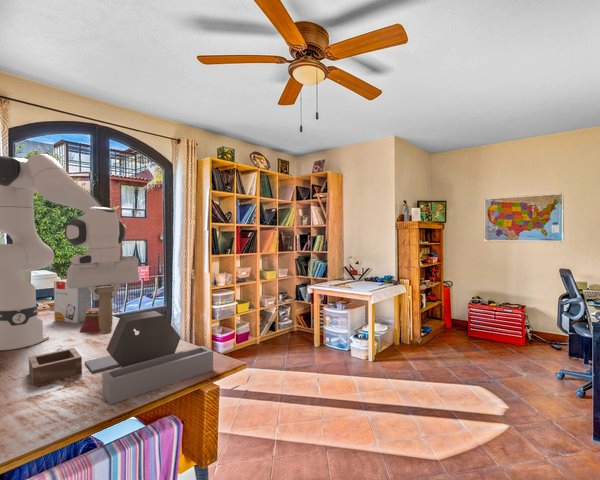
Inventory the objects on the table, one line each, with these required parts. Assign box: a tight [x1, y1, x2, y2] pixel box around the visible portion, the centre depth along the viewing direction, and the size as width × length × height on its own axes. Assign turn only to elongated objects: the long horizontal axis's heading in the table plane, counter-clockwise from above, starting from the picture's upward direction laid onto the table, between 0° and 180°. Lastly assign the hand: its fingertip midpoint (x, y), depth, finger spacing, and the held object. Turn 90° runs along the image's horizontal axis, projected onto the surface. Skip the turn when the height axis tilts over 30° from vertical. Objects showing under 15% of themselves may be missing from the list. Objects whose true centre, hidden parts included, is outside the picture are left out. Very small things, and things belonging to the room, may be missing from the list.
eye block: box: [28, 347, 83, 387], centre depth 98 cm, size 12×12×5 cm
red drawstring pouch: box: [79, 307, 101, 333], centre depth 144 cm, size 9×9×9 cm
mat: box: [84, 354, 121, 374], centre depth 105 cm, size 10×10×1 cm
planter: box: [106, 310, 181, 368], centre depth 99 cm, size 17×8×21 cm
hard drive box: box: [53, 278, 92, 324], centre depth 159 cm, size 16×8×20 cm, turn 73°
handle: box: [95, 285, 115, 335], centre depth 105 cm, size 5×6×15 cm
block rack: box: [101, 345, 214, 405], centre depth 92 cm, size 7×29×6 cm, turn 135°
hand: (105, 299), depth 105 cm, fingers closed on handle, 3 cm apart
